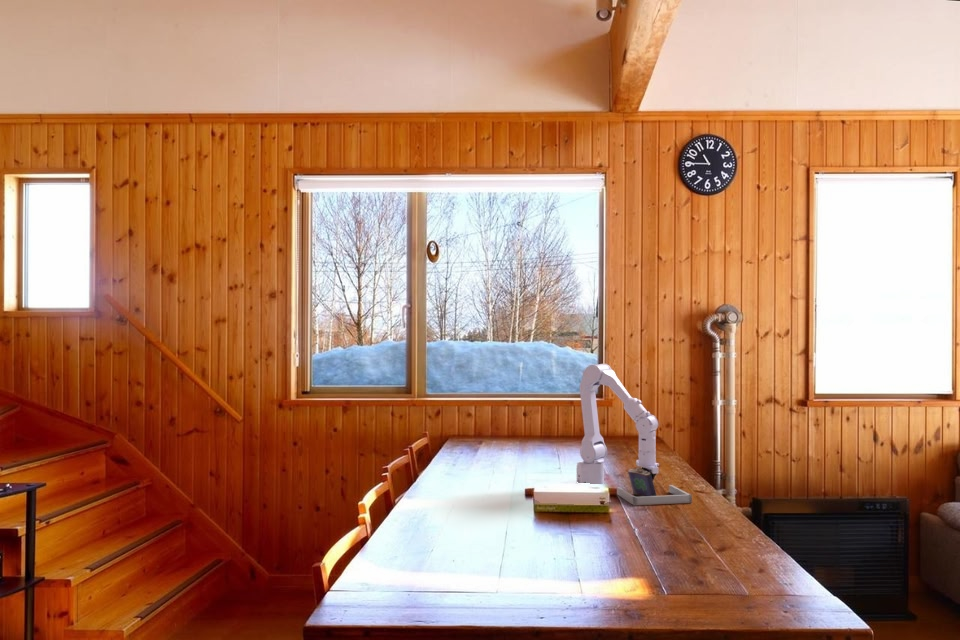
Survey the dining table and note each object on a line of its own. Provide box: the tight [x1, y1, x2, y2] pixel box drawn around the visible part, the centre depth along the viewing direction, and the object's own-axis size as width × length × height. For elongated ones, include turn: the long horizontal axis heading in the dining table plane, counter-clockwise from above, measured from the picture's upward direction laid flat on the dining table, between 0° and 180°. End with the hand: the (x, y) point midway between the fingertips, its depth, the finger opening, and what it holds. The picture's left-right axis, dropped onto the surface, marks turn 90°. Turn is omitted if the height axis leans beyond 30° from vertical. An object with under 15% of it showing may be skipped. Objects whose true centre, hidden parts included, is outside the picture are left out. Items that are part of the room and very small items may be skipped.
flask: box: [627, 466, 658, 497], centre depth 249 cm, size 9×3×11 cm, turn 41°
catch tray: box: [616, 484, 693, 506], centre depth 247 cm, size 20×15×2 cm
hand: (647, 490), depth 253 cm, fingers closed
